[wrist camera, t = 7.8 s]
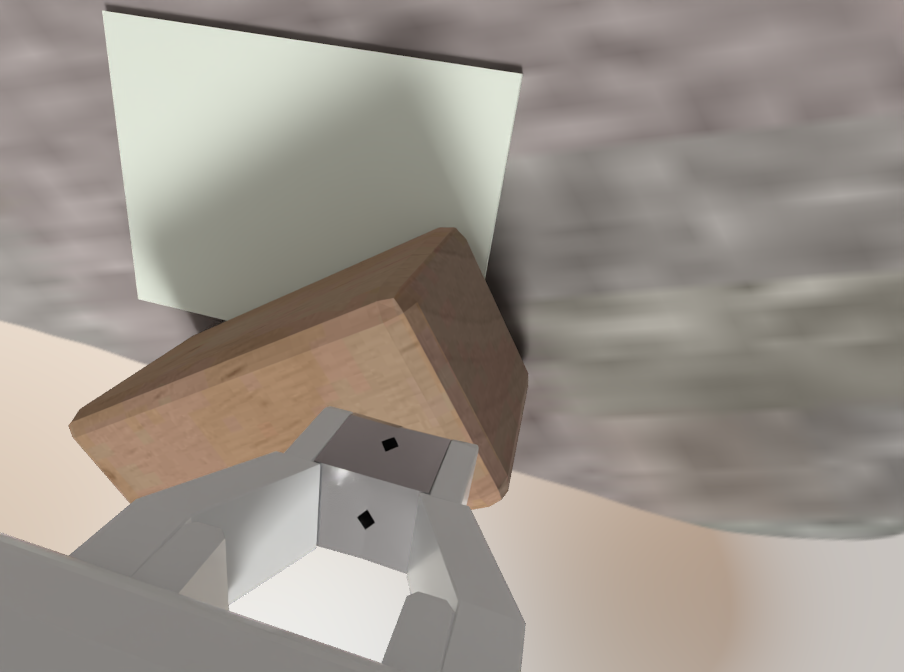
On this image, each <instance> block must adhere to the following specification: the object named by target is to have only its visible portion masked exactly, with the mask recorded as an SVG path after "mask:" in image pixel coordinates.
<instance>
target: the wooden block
mask: <svg viewBox="0 0 904 672" xmlns="http://www.w3.org/2000/svg"><path fill="white" fill-rule="evenodd" d="M527 388H528V372H527V370H526V368H525V365H524V363H523V361H522V359H521V357H520V355H519V352H518V350H517V348H516V346H515V344H514V342H513V339H512V337H511V335H510V333H509V331H508V329H507V326H506V324H505V322H504V320H503V318H502V316H501V313H500V311H499V309H498V307H497V305H496V303H495V300H494V298H493V296H492V294H491V292H490V290H489V287H488V285H487V283H486V281H485V279H484V277H483V274H482V272H481V270H480V268H479V266H478V264H477V261H476V259H475V257H474V255H473V253H472V251H471V248H470V246H469V244H468V242H467V240H466V238H465V237H464V236H463V235H462V234H461V233H460V232H459V231H458V230H457V228H455V227H439V228H437V229H434V230H432V231H430V232H427V233H425V234H423V235H421V236H418V237H416V238H414V239H412V240H409V241H407V242H405V243H403V244H400V245H398V246H396V247H393V248H391V249H389V250H387V251H384V252H382V253H380V254H378V255H375V256H373V257H371V258H369V259H366V260H364V261H362V262H359V263H357V264H355V265H353V266H350V267H348V268H346V269H344V270H341V271H339V272H337V273H334V274H332V275H330V276H328V277H325V278H323V279H321V280H319V281H316V282H314V283H312V284H310V285H307V286H305V287H303V288H300V289H298V290H296V291H294V292H291V293H289V294H287V295H285V296H282V297H280V298H278V299H276V300H273V301H271V302H269V303H266V304H264V305H262V306H260V307H257V308H255V309H253V310H251V311H248V312H246V313H244V314H242V315H239V316H237V317H235V318H232V319H230V320H228V321H226V322H223V323H221V324H219V325H217V326H214V327H212V328H210V329H208V330H205V331H203V332H201V333H198V334H196V335H194V336H192V337H190V338H189V339H187V340H186V341H184V342H183V343H181V344H180V345H178V346H177V347H175V348H173V349H172V350H170V351H169V352H167V353H166V354H164V355H163V356H161V357H160V358H158V359H156V360H155V361H153V362H152V363H150V364H149V365H147V366H146V367H144V368H143V369H141V370H139V371H138V372H136V373H135V374H133V375H132V376H130V377H129V378H127V379H126V380H124V381H123V382H121V383H120V384H118V385H116V386H115V387H113V388H112V389H110V390H109V391H107V392H106V393H104V394H103V395H101V396H100V397H98V398H96V399H95V400H93V401H92V402H90V403H89V404H87V405H86V406H84V407H82V408H81V409H80V410H79V412H78V413H77V414H76V416H75V417H74V419H73V420H72V422H71V423H70V424H69V429H70V431H71V434H72V437H73V438H74V439H75V440H76V441H77V443H78V444H79V445H80V446H81V447H82V449H83V450H84V451H85V452H86V453H87V454H88V456H89V457H90V458H91V459H92V460H93V461H94V462H95V464H96V465H97V466H98V467H99V468H100V469H101V471H102V472H104V474H105V475H106V476H107V477H108V479H109V480H110V481H111V482H112V483H113V484H114V485H115V487H116V488H117V489H118V490H119V491H120V492H121V493H122V495H123V496H124V497H125V498H126V499H127V501H128V502H129V503H130V504H131V503H132V502H133V501H135V500H136V499H138V498H141V497H144V496H147V495H150V494H152V493H155V492H158V491H161V490H164V489H167V488H170V487H173V486H176V485H179V484H182V483H185V482H188V481H191V480H193V479H196V478H199V477H202V476H205V475H208V474H211V473H214V472H217V471H220V470H223V469H226V468H229V467H232V466H234V465H237V464H240V463H243V462H246V461H249V460H252V459H255V458H258V457H261V456H264V455H267V454H270V453H273V452H275V451H278V452H281V453H284V452H285V451H286V450H287V449H288V448H289V447H290V446H291V445H292V444H293V442H294V441H295V440H296V439H297V438H298V437H299V436H300V435H301V434H302V432H303V431H304V430H305V429H306V428H307V427H308V426H309V425H310V424H311V423H312V421H313V420H314V419H315V418H316V417H317V416H318V415H319V414H320V413H321V411H322V410H323V409H324V408H326V407H329V406H332V407H336V408H340V409H343V410H347V411H351V412H353V413H358V414H361V415H365V416H368V417H372V418H375V419H379V420H382V421H385V422H389V423H392V424H396V425H399V426H403V427H404V428H408V429H412V430H416V431H420V432H424V433H428V434H431V435H435V436H439V437H443V438H447V439H451V440H453V439H454V440H459V441H463V442H467V443H471V444H476V445H478V447H479V449H478V455H477V460H476V465H475V469H474V474H473V478H472V483H471V488H470V492H469V497H468V501H467V505H466V506H469V507H470V509H471V510H472V509H478V508H484V507H489V506H491V505H493V504H495V503H496V502H498V501H500V500H502V498H503V497H504V496H505V494H506V493H507V491H508V488H509V483H510V477H511V473H512V467H513V462H514V457H515V452H516V446H517V441H518V436H519V431H520V425H521V420H522V415H523V410H524V404H525V399H526V394H527Z"/></svg>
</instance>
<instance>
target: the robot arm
mask: <svg viewBox="0 0 904 672" xmlns="http://www.w3.org/2000/svg"><path fill="white" fill-rule="evenodd" d="M478 449H479V447H478V445H476V444H471V443H467V442H463V441H459V440H454V439H453V440H451V439H447V438H443V437H439V436H435V435H431V434H428V433H424V432H420V431H416V430H412V429H408V428H404V427H403V426H399V425H396V424H392V423H389V422H385V421H382V420H379V419H375V418H372V417H368V416H365V415H361V414H358V413H353V412H351V411H347V410H343V409H340V408H336V407H332V406H329V407H326V408H324V409H323V410H322V411H321V413H320V414H319V415H318V416H317V417H316V418H315V419H314V420H313V421H312V423H311V424H310V425H309V426H308V427H307V428H306V429H305V430H304V431H303V432H302V434H301V435H300V436H299V437H298V438H297V439H296V440H295V441H294V442H293V444H292V445H291V446H290V447H289V448H288V449H287V450H286V451H285V452H284V453H281V452H278V451H275V452H273V453H270V454H267V455H264V456H261V457H258V458H255V459H252V460H249V461H246V462H243V463H240V464H237V465H234V466H232V467H229V468H226V469H223V470H220V471H217V472H214V473H211V474H208V475H205V476H202V477H199V478H196V479H193V480H191V481H188V482H185V483H182V484H179V485H176V486H173V487H170V488H167V489H164V490H161V491H158V492H155V493H152V494H150V495H147V496H144V497H141V498H138V499H136V500H135V501H133V502H132V503H131V504H130V505H129V506H127V507H126V508H125V509H124V510H123V511H121V512H120V513H119V514H118V515H117V516H115V517H114V518H113V519H112V520H111V521H109V522H108V523H107V524H106V525H105V526H104V527H102V528H101V529H100V530H99V531H98V532H96V533H95V534H94V535H93V536H92V537H90V538H89V539H88V540H87V541H86V542H85V543H83V544H82V545H81V546H80V547H78V548H77V549H76V550H75V551H74V552H73V553H71V554H70V555H69V556H67V555H65V554H62V553H59V552H56V551H53V550H50V549H47V548H44V547H41V546H39V545H36V544H33V543H30V542H27V541H24V540H21V539H18V538H15V537H12V536H9V535H7V534H4V533H1V532H0V672H521V664H522V654H523V644H524V633H525V624H526V623H525V621H524V619H523V617H522V615H521V613H520V611H519V608H518V607H517V604H516V602H515V600H514V598H513V596H512V594H511V592H510V590H509V588H508V586H507V584H506V581H505V580H504V577H503V575H502V573H501V571H500V569H499V567H498V565H497V563H496V561H495V559H494V556H493V554H492V553H491V550H490V548H489V546H488V544H487V542H486V540H485V538H484V536H483V534H482V532H481V529H480V527H479V525H478V523H477V521H476V519H475V517H474V515H473V513H472V511H471V509H470V507H469V506H466V505H467V501H468V497H469V492H470V488H471V483H472V478H473V474H474V469H475V465H476V460H477V455H478ZM316 546H319V547H323V548H327V549H331V550H334V551H337V552H341V553H345V554H348V555H352V556H355V557H359V558H363V559H365V560H368V561H371V562H374V563H377V564H380V565H383V566H386V567H388V568H391V569H394V570H397V571H400V572H403V573H406V574H407V580H408V584H409V589H410V593H411V595H409V596H407V597H406V600H405V603H404V605H403V608H402V611H401V613H400V616H399V618H398V621H397V624H396V626H395V629H394V632H393V634H392V637H391V640H390V642H389V645H388V647H387V650H386V653H385V655H384V658H383V661H382V663H379V662H376V661H373V660H371V659H368V658H365V657H362V656H359V655H356V654H353V653H350V652H347V651H344V650H341V649H338V648H336V647H333V646H330V645H327V644H324V643H321V642H318V641H315V640H312V639H309V638H306V637H303V636H300V635H298V634H294V633H292V632H289V631H286V630H283V629H280V628H277V627H274V626H272V625H269V624H266V623H263V622H260V621H256V620H254V619H251V618H248V617H245V616H242V615H240V614H237V613H234V612H231V611H229V605H230V604H232V603H233V602H235V601H236V600H238V599H239V598H241V597H242V596H244V595H246V594H247V593H249V592H250V591H252V590H253V589H255V588H256V587H258V586H259V585H261V584H262V583H264V582H266V581H267V580H269V579H270V578H272V577H273V576H275V575H276V574H278V573H279V572H281V571H282V570H284V569H285V568H287V567H289V566H290V565H292V564H293V563H295V562H296V561H298V560H299V559H301V558H302V557H304V556H306V555H307V554H308V553H310V552H312V551H313V550H315V549H316Z"/></svg>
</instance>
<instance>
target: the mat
mask: <svg viewBox="0 0 904 672" xmlns="http://www.w3.org/2000/svg"><path fill="white" fill-rule="evenodd" d="M102 13H103V21H104V29H105V37H106V45H107V53H108V61H109V69H110V77H111V85H112V93H113V101H114V109H115V117H116V125H117V133H118V141H119V149H120V157H121V165H122V173H123V181H124V189H125V197H126V205H127V213H128V221H129V229H130V237H131V245H132V253H133V261H134V269H135V277H136V285H137V293H138V299H140V300H144V301H148V302H153V303H157V304H161V305H165V306H169V307H173V308H177V309H181V310H185V311H189V312H193V313H197V314H201V315H205V316H209V317H213V318H218V319H222V320H226V321H228V320H230V319H232V318H235V317H237V316H239V315H242V314H244V313H246V312H248V311H251V310H253V309H255V308H257V307H260V306H262V305H264V304H266V303H269V302H271V301H273V300H276V299H278V298H280V297H282V296H285V295H287V294H289V293H291V292H294V291H296V290H298V289H300V288H303V287H305V286H307V285H310V284H312V283H314V282H316V281H319V280H321V279H323V278H325V277H328V276H330V275H332V274H334V273H337V272H339V271H341V270H344V269H346V268H348V267H350V266H353V265H355V264H357V263H359V262H362V261H364V260H366V259H369V258H371V257H373V256H375V255H378V254H380V253H382V252H384V251H387V250H389V249H391V248H393V247H396V246H398V245H400V244H403V243H405V242H407V241H409V240H412V239H414V238H416V237H418V236H421V235H423V234H425V233H427V232H430V231H432V230H434V229H437V228H439V227H455V228H457V230H458V231H459V232H460V233H461V234H462V235H463V236H464V237H465V238H466V240H467V242H468V244H469V246H470V248H471V251H472V253H473V255H474V257H475V259H476V261H477V264H478V266H479V268H480V270H481V272H482V274H483V277H484V279H485V277H486V272H487V266H488V261H489V255H490V250H491V245H492V239H493V234H494V228H495V223H496V218H497V212H498V207H499V201H500V196H501V191H502V185H503V180H504V175H505V169H506V164H507V158H508V153H509V148H510V142H511V137H512V131H513V126H514V121H515V115H516V110H517V104H518V99H519V94H520V88H521V83H522V78H523V74H519V73H513V72H506V71H499V70H493V69H486V68H480V67H473V66H466V65H460V64H453V63H446V62H440V61H433V60H426V59H420V58H413V57H407V56H400V55H393V54H387V53H380V52H373V51H367V50H360V49H354V48H347V47H340V46H334V45H327V44H320V43H314V42H307V41H300V40H294V39H287V38H281V37H274V36H267V35H261V34H254V33H247V32H241V31H234V30H227V29H221V28H214V27H208V26H201V25H194V24H188V23H181V22H174V21H168V20H161V19H155V18H148V17H141V16H135V15H128V14H121V13H115V12H108V11H102Z"/></svg>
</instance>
